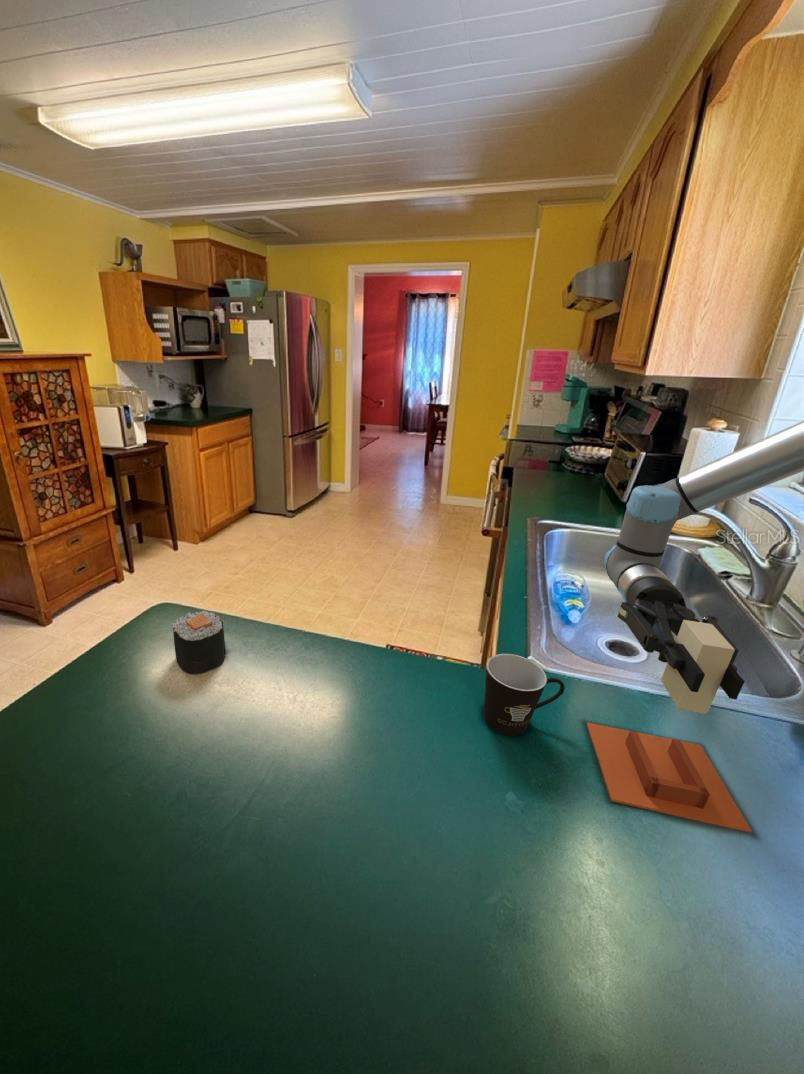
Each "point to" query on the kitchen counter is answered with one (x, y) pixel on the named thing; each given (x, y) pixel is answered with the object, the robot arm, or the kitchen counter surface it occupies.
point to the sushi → (199, 642)
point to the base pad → (663, 776)
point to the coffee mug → (514, 692)
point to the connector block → (711, 659)
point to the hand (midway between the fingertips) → (717, 686)
